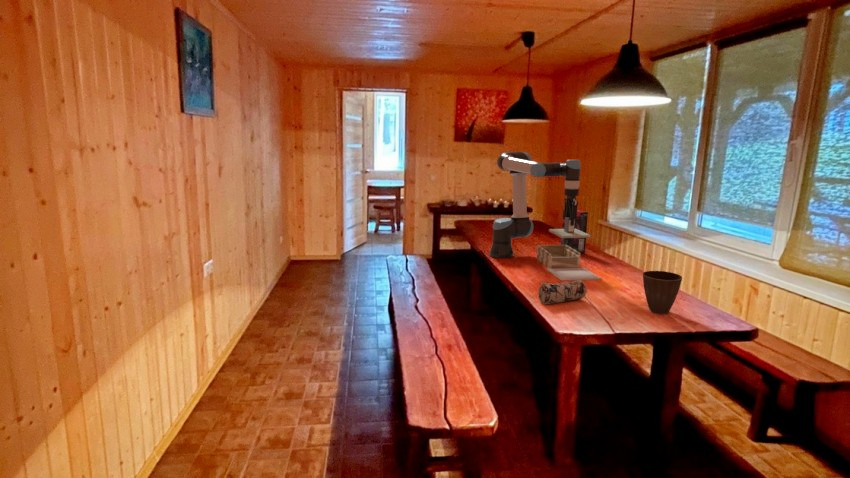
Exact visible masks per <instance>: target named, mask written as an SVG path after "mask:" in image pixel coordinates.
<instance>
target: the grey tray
mask: <svg viewBox="0 0 850 478" xmlns="http://www.w3.org/2000/svg"><path fill="white" fill-rule="evenodd" d="M546 271H547V272H549V273H550V274H552V275H553V276H554V277H555V278H557V279H558V280H560V281H561V282H566V281H567V282H568V281H569V282H573V281H576V280H583V281H601V280H602V279H603V278H601V277H600V276H598V275H597V274H595V273H594V272H592V271H590V270H589V269H587V268H585V267H580V268H553V269H549V268H546Z"/></svg>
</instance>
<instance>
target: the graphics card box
mask: <svg viewBox="0 0 850 478" xmlns="http://www.w3.org/2000/svg"><path fill="white" fill-rule="evenodd" d="M588 216H589V211H586V210H585V211H583V210H579V209H577V218H576V219H575V227H574V229H578V230H580V231H582V232H585V233H587V230H588ZM561 223H562V225H561V229H565V216H564V209H563V210H562V222H561ZM560 240H561V241H560V245H567V246H569V247H571V248H572V249H574V250H576V251H578V252H579V253H581V254H585V253H586V242H587V238H561V237H560Z"/></svg>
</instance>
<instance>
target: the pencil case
mask: <svg viewBox="0 0 850 478" xmlns="http://www.w3.org/2000/svg"><path fill="white" fill-rule="evenodd" d="M586 294H587V286H586V284H585V281H584V280H574V281H569V282H568V281H567V282H561V283H549V282H543V281H542V282H541V284H540V287H539V289H538V299H539V301H540V302H541V304H543V305H551V304H552V305H553V304H557V303H565V302H569V301H573V300H574V301H575V300H581V299H584V298H585V296H586Z"/></svg>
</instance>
